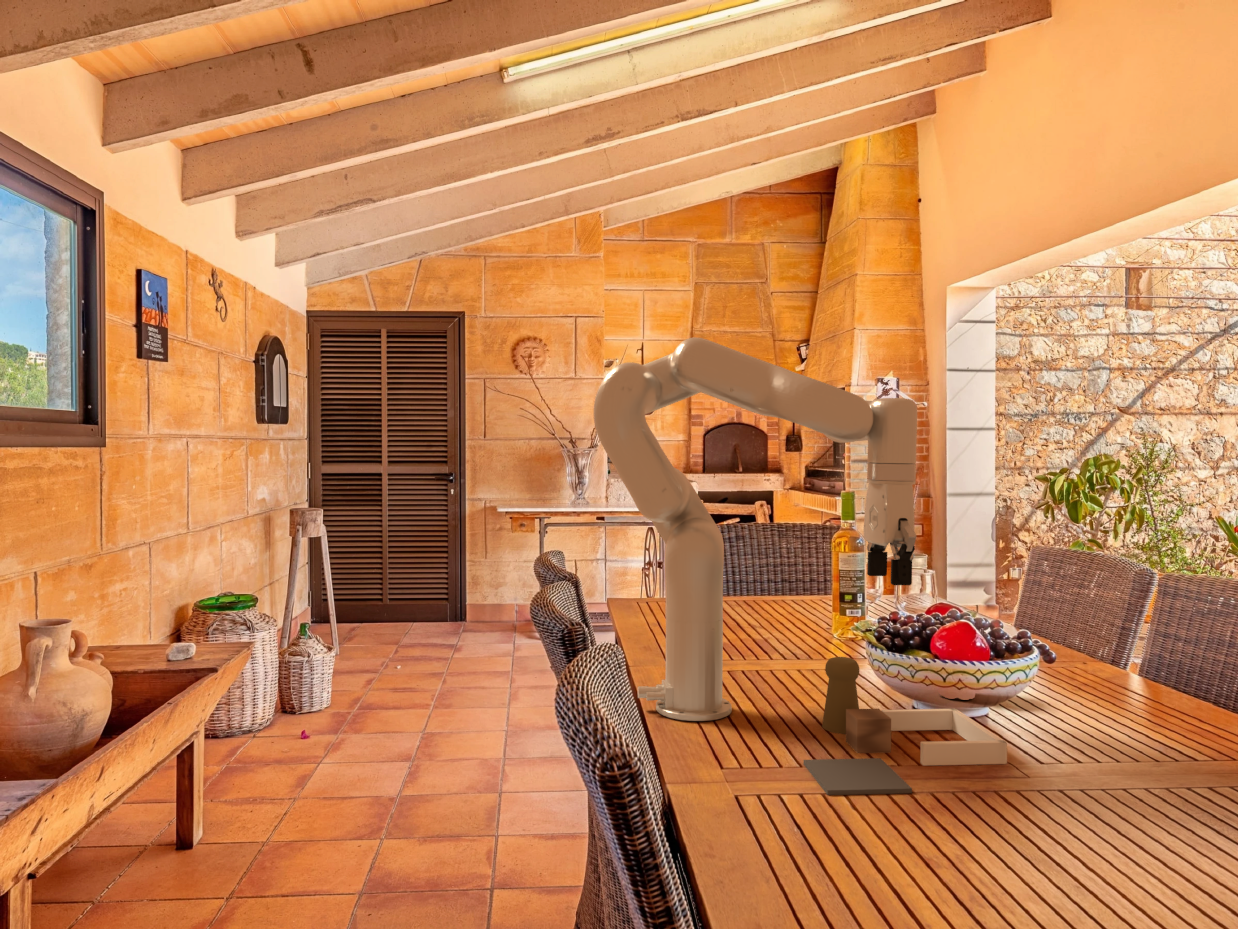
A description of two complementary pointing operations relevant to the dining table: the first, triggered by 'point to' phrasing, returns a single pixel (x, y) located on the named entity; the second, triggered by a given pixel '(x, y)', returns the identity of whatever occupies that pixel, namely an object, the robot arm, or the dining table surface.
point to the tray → (973, 751)
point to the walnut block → (868, 730)
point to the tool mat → (856, 776)
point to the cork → (840, 692)
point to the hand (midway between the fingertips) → (888, 580)
